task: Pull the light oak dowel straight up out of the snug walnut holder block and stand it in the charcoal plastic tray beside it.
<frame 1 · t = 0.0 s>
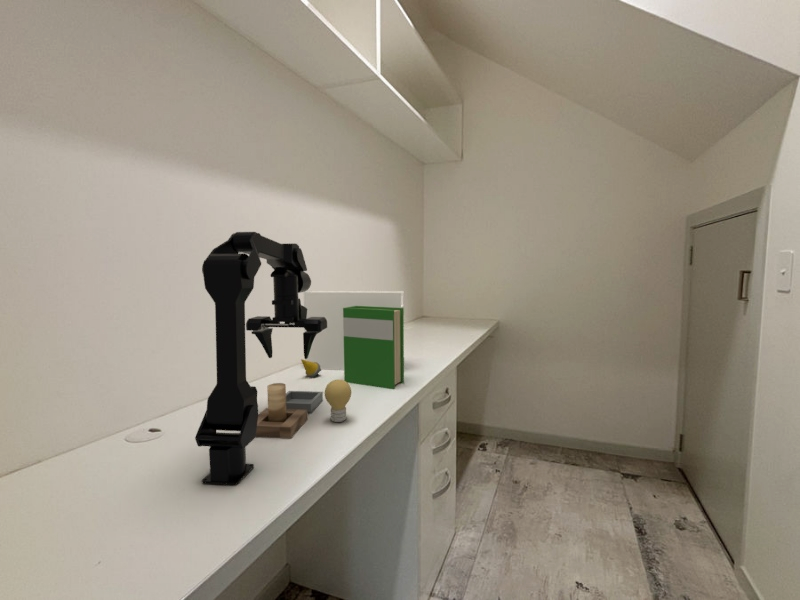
hand: (288, 358, 98), 15 cm above the worktop, fingers open, 9 cm apart
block: (355, 368, 145), on the worktop
ice cream cone: (311, 377, 133), on the worktop
bit holder: (277, 427, 92), on the worktop
hardback book: (374, 383, 127), on the worktop
dowel: (277, 406, 92), in the bit holder
light bulb: (338, 421, 96), on the worktop
tray: (299, 406, 106), on the worktop
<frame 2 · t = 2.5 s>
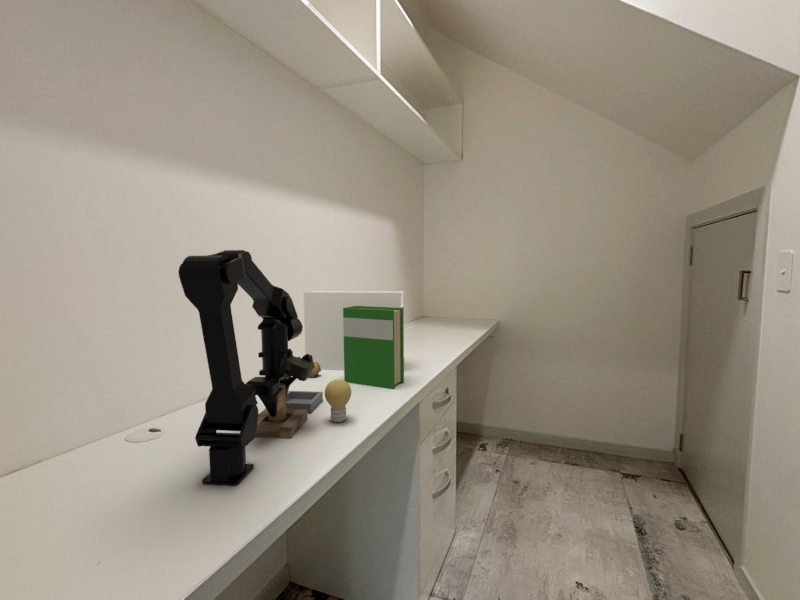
hand: (277, 412, 92), 4 cm above the worktop, fingers closed on dowel, 4 cm apart
dowel: (277, 406, 92), in the bit holder, touching gripper
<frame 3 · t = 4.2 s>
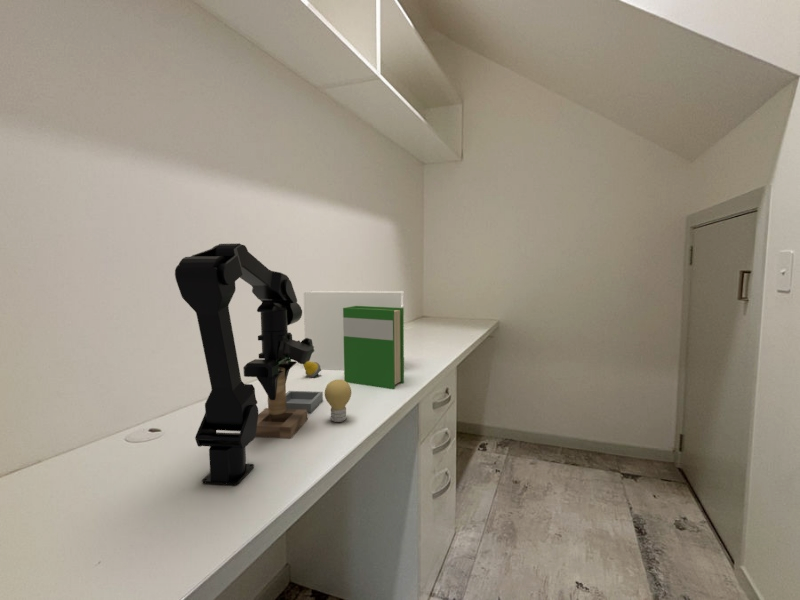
hand: (276, 396, 91), 7 cm above the worktop, fingers closed on dowel, 4 cm apart
dowel: (276, 390, 91), point 9 cm above the worktop, touching gripper
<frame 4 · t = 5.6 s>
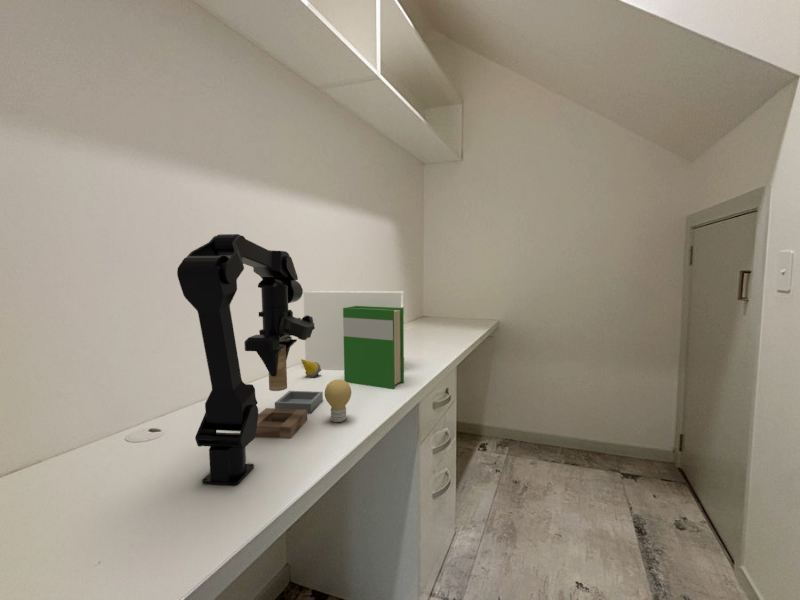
hand: (277, 373, 92), 13 cm above the worktop, fingers closed on dowel, 4 cm apart
dowel: (277, 367, 92), point 14 cm above the worktop, touching gripper
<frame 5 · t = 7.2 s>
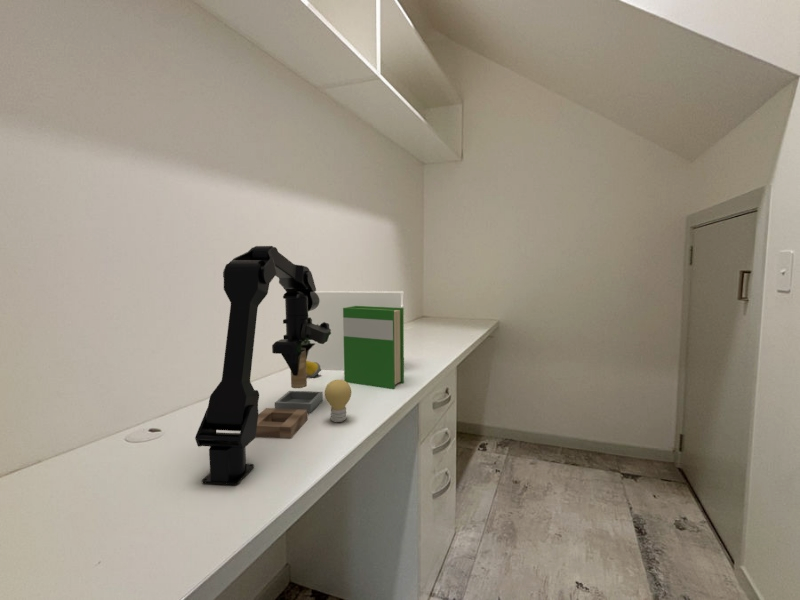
hand: (298, 373, 105), 9 cm above the worktop, fingers closed on dowel, 4 cm apart
dowel: (298, 367, 105), point 11 cm above the worktop, touching gripper
when the fingers open (5 cm above the worktop, at t = 8.6 s): dowel stays where it is, resting on tray.
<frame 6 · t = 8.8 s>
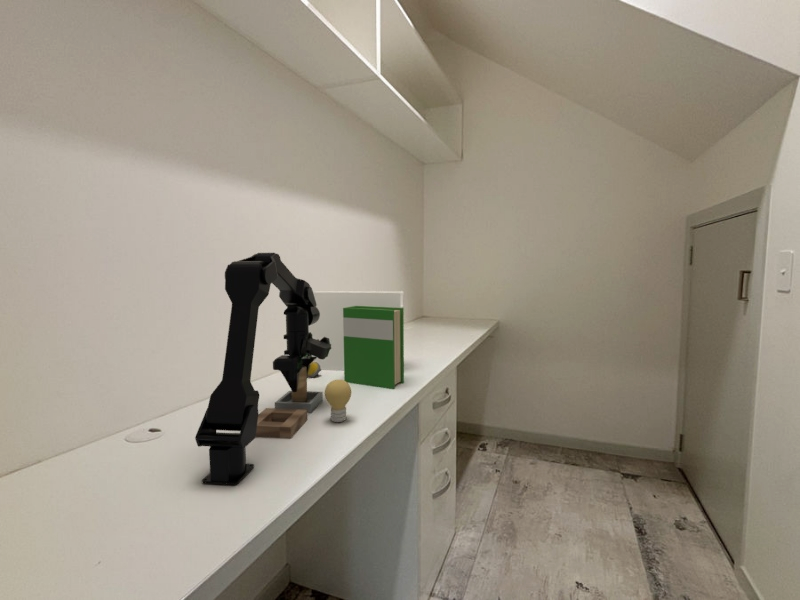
hand: (299, 387, 105), 5 cm above the worktop, fingers open, 6 cm apart
dowel: (299, 386, 105), in the tray
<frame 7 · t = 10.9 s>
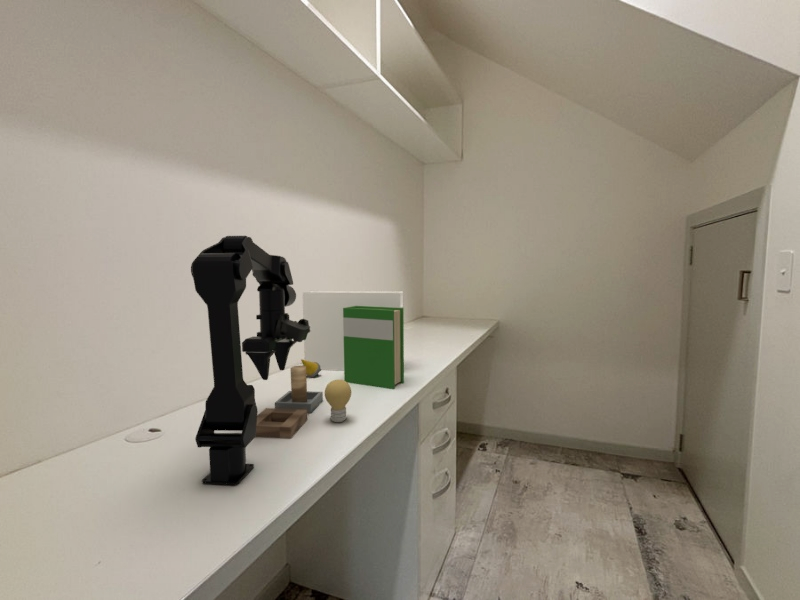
hand: (274, 374, 95), 11 cm above the worktop, fingers open, 9 cm apart
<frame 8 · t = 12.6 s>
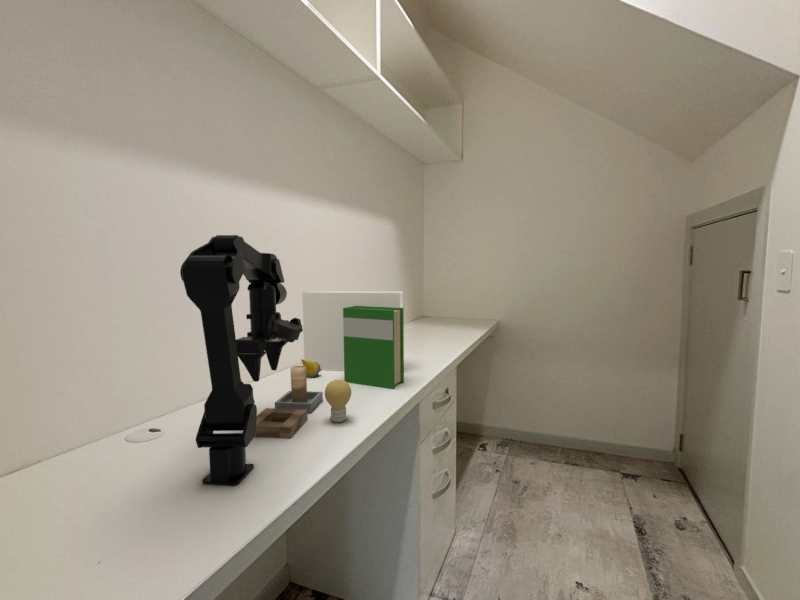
hand: (265, 375, 92), 12 cm above the worktop, fingers open, 9 cm apart
at the end: dowel 0.1 cm off-centre on the tray, point 5.5 cm above the tray's base; dowel tilted 1°; the gripper is holding nothing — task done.
